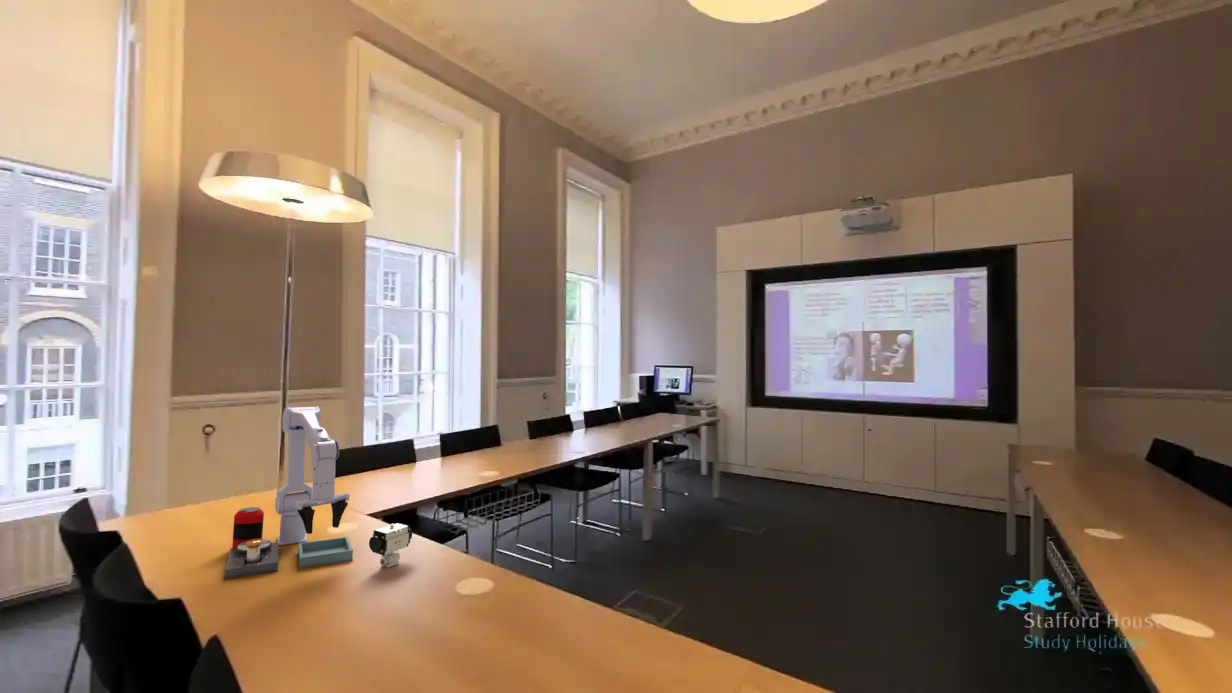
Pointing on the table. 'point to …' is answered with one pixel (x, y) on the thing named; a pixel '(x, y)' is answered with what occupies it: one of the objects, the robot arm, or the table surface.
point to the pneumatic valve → (390, 542)
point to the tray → (324, 552)
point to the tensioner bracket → (240, 568)
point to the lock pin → (253, 550)
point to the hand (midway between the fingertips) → (322, 530)
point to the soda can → (247, 525)
